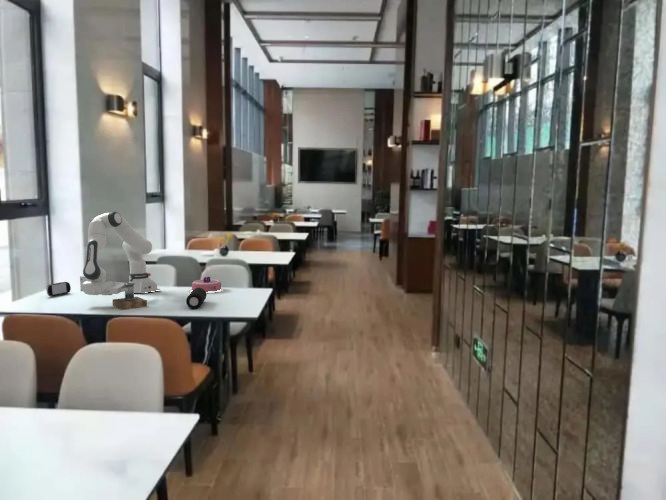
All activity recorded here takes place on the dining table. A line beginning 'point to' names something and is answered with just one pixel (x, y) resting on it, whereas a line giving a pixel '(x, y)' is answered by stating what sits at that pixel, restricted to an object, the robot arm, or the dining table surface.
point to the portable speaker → (196, 298)
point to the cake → (207, 284)
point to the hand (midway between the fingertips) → (130, 288)
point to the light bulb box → (82, 281)
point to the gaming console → (58, 289)
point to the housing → (129, 294)
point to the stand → (129, 303)
